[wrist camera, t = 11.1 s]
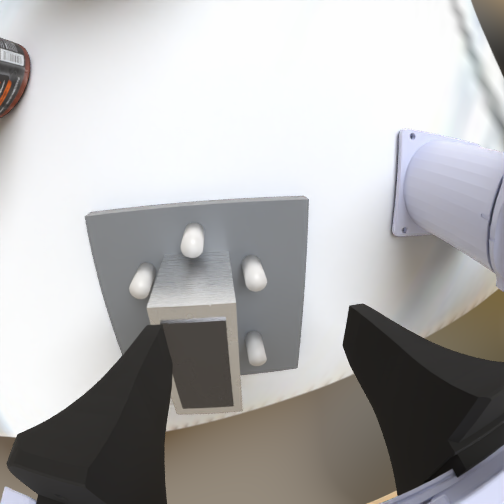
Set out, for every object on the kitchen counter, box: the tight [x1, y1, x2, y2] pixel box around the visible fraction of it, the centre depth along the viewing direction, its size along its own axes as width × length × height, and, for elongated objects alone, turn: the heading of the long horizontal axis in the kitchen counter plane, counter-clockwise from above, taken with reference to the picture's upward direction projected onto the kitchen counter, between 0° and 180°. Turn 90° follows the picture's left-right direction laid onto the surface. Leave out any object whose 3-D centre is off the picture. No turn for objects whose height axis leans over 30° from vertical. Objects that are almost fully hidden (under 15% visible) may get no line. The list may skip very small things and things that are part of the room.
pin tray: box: [85, 196, 309, 375], centre depth 19 cm, size 14×14×4 cm
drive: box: [147, 251, 243, 414], centre depth 17 cm, size 8×4×6 cm, turn 1°
